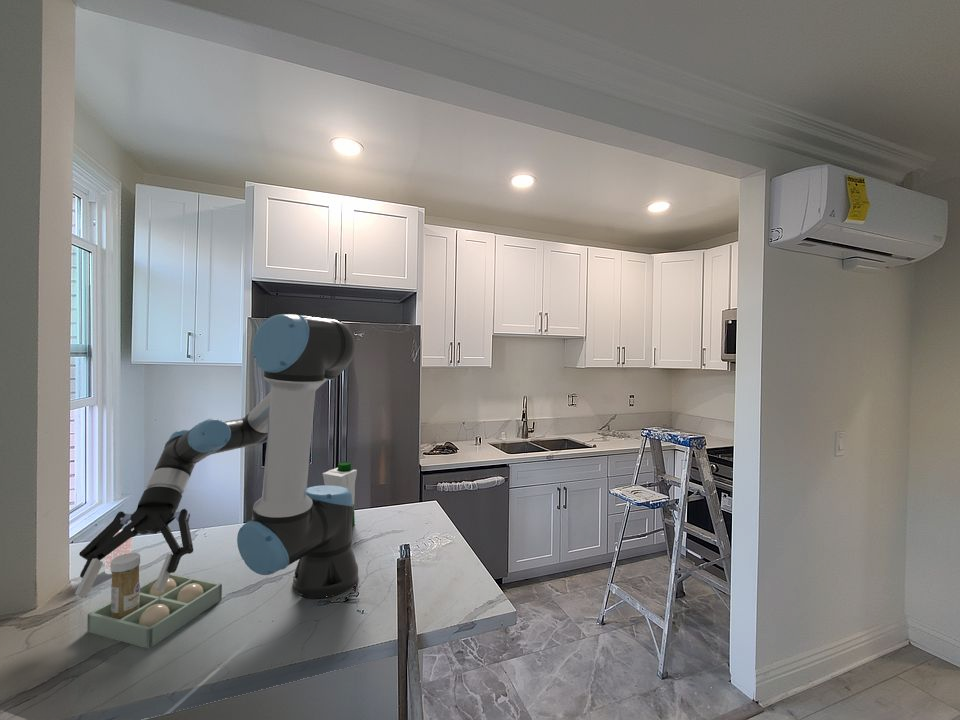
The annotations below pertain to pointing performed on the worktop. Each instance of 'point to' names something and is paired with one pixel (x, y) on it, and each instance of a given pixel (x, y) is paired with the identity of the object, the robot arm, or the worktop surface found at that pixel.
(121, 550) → the beverage cup
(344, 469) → the milk carton
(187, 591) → the egg
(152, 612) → the egg
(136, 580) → the sprinkles bottle
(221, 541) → the worktop surface
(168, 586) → the egg
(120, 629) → the carton
